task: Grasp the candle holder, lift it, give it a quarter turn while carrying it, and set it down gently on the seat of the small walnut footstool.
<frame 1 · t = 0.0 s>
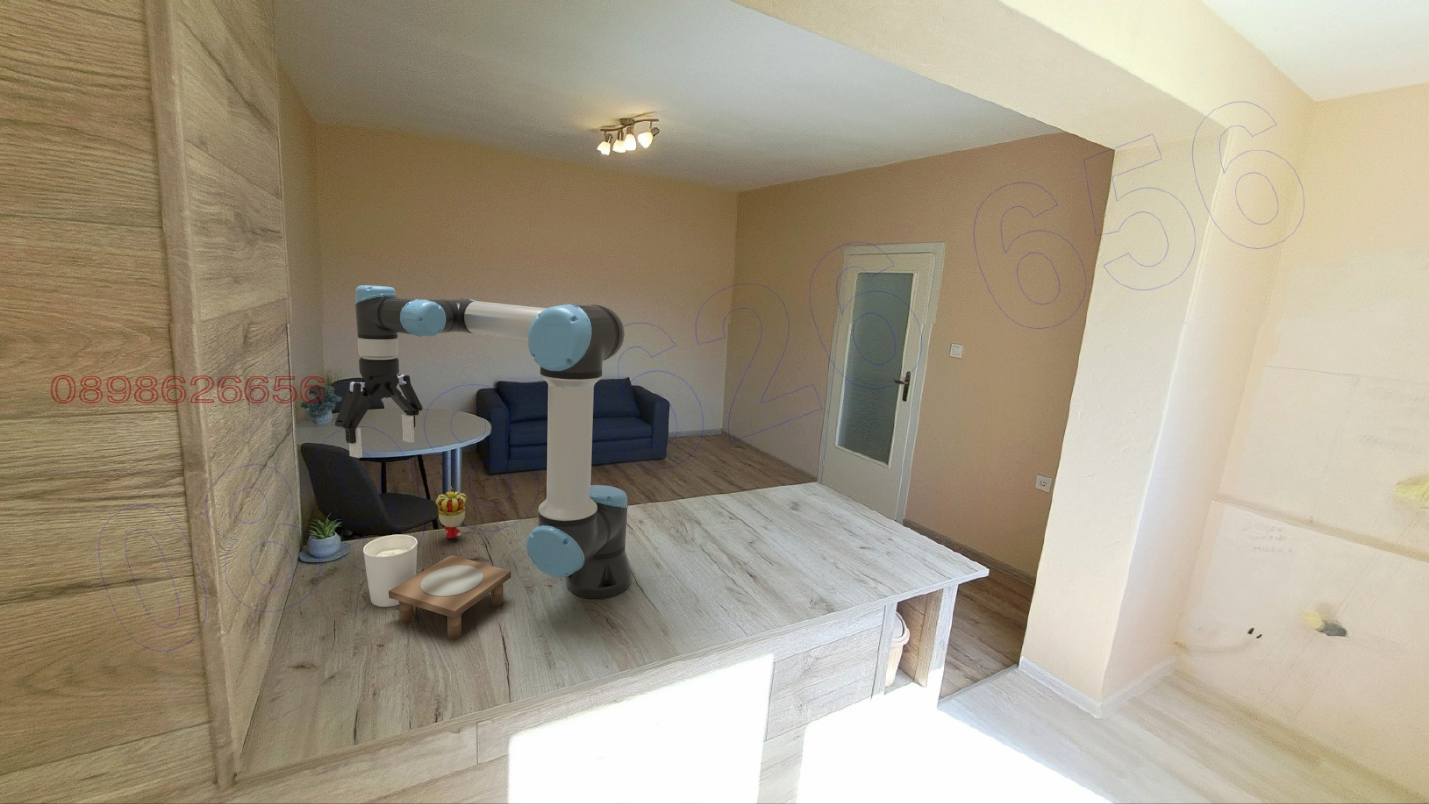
hand: (383, 448, 124), 28 cm above the counter, fingers open, 13 cm apart
toy: (452, 540, 141), on the counter
candle holder: (393, 597, 116), on the counter
footstool: (453, 611, 112), on the counter
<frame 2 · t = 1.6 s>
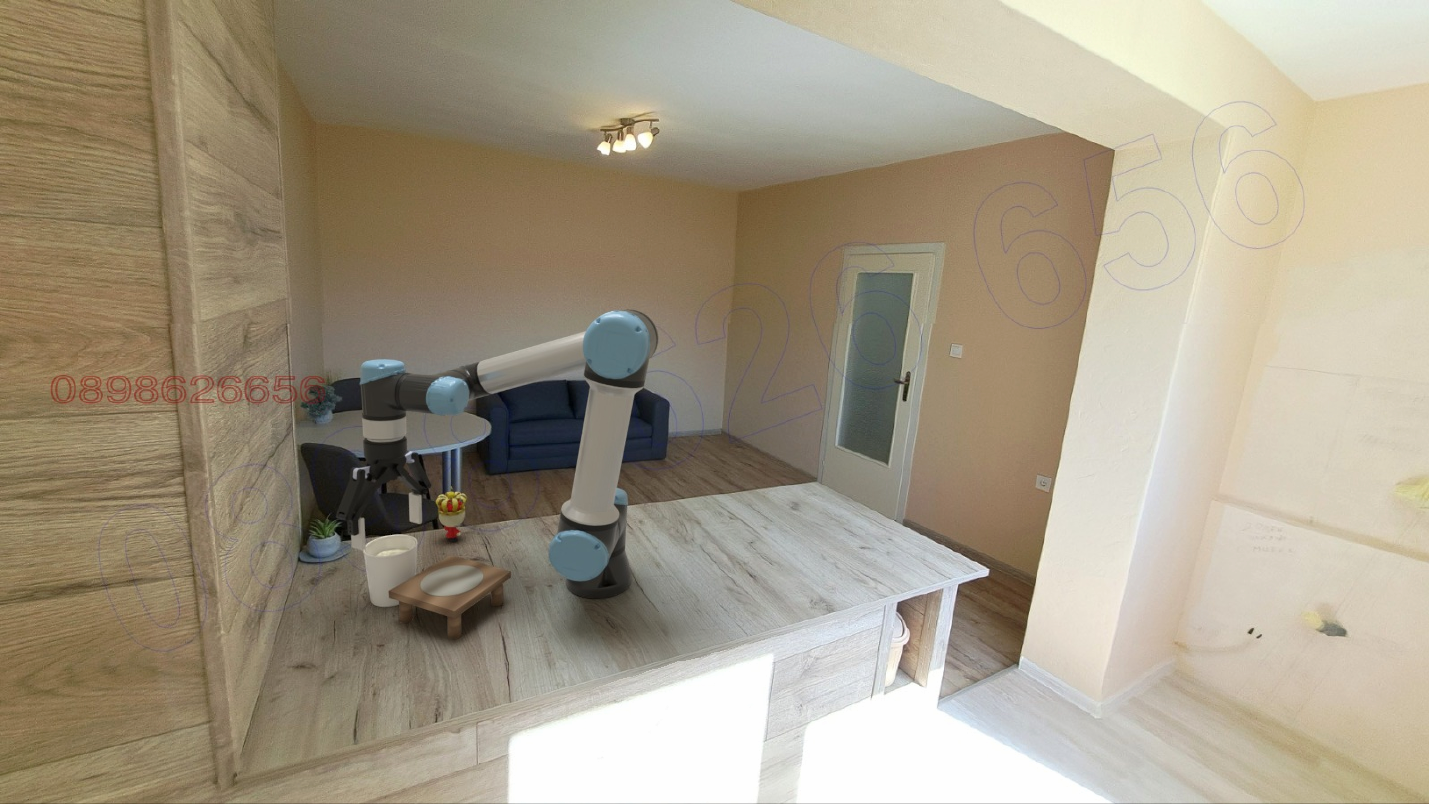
hand: (388, 534, 113), 14 cm above the counter, fingers open, 13 cm apart
nothing on the counter moved.
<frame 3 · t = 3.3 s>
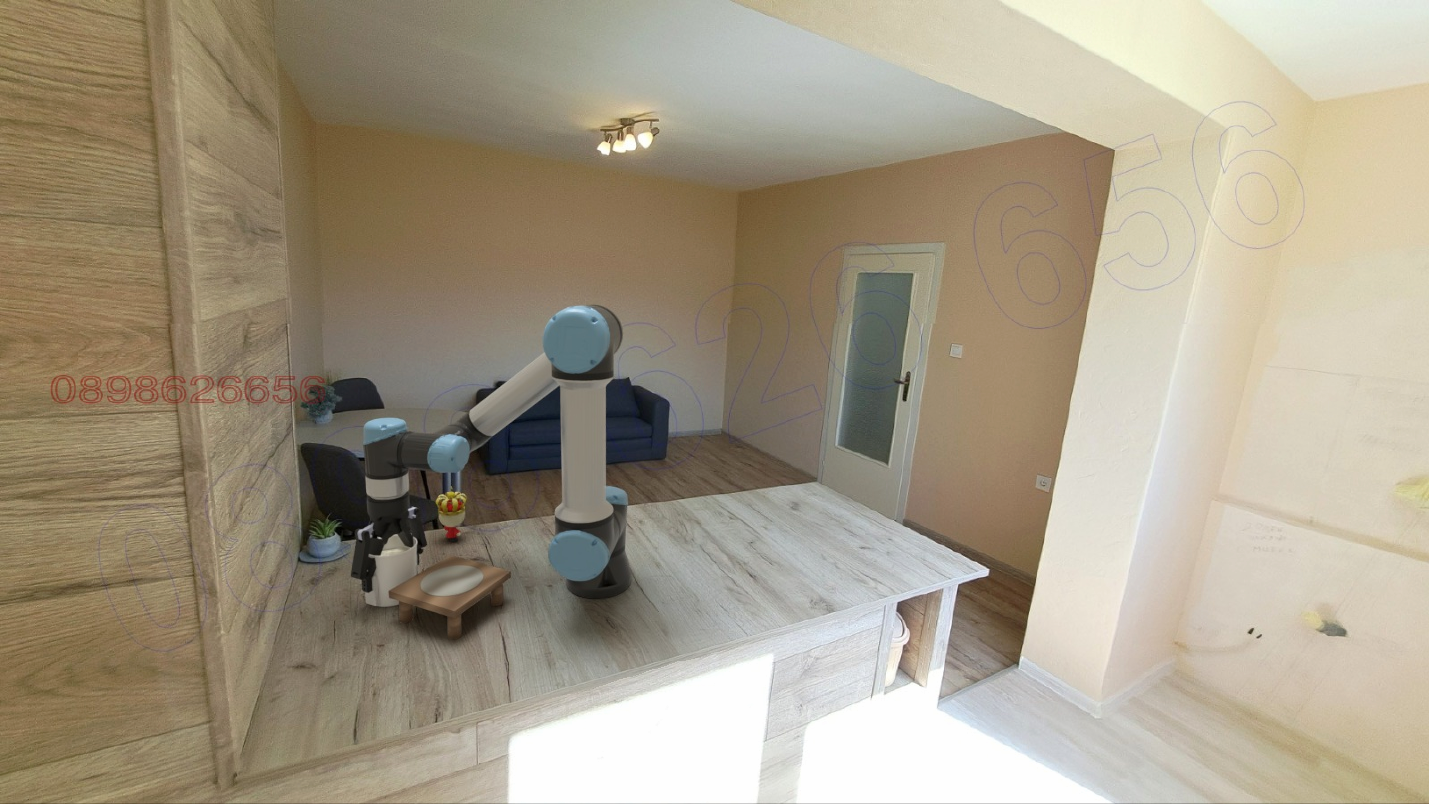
hand: (393, 591, 115), 1 cm above the counter, fingers closed on candle holder, 9 cm apart
candle holder: (393, 596, 116), on the counter, touching gripper
everything else where it was.
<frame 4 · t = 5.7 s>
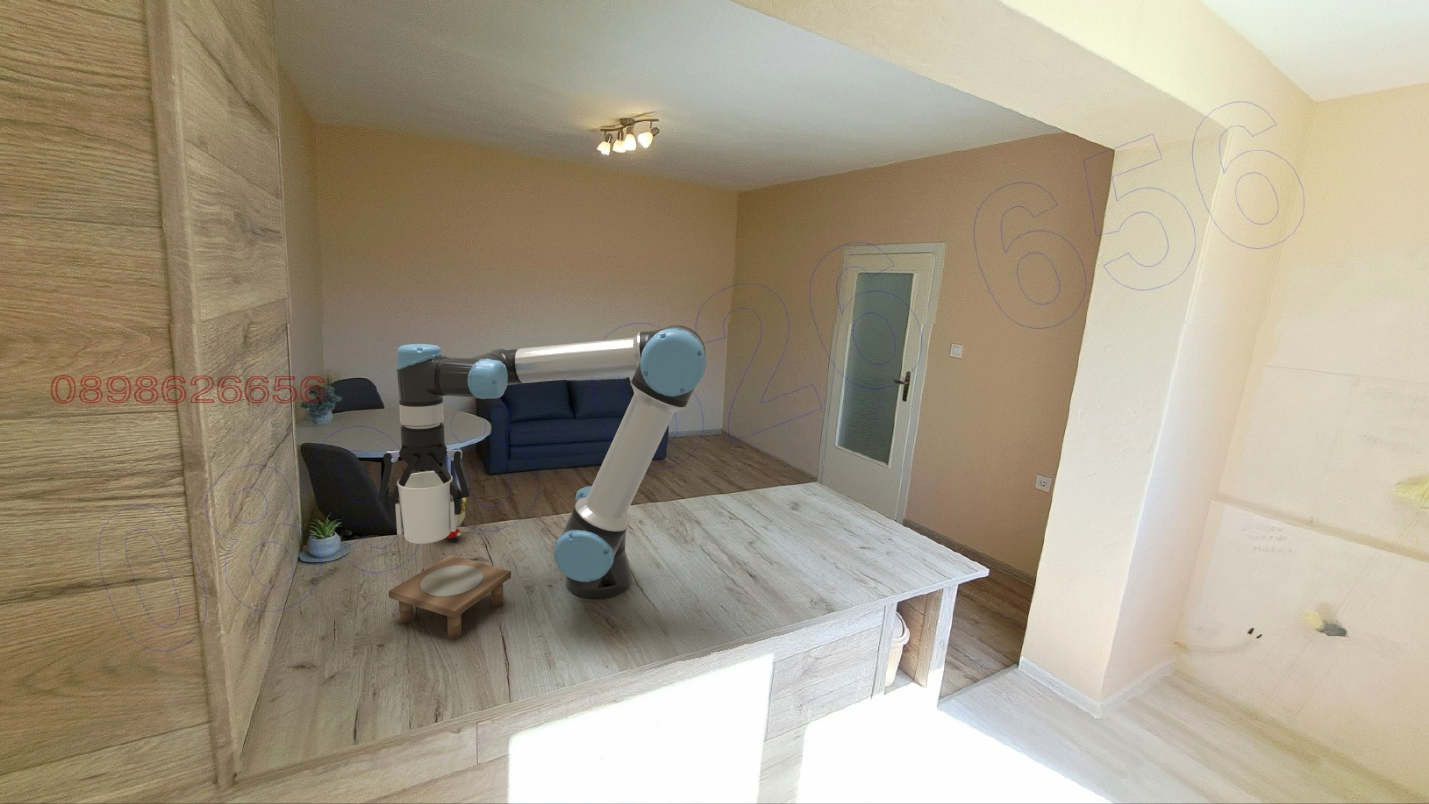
hand: (428, 530, 110), 17 cm above the counter, fingers closed on candle holder, 9 cm apart
candle holder: (428, 535, 110), point 16 cm above the counter, touching gripper
everything else where it was.
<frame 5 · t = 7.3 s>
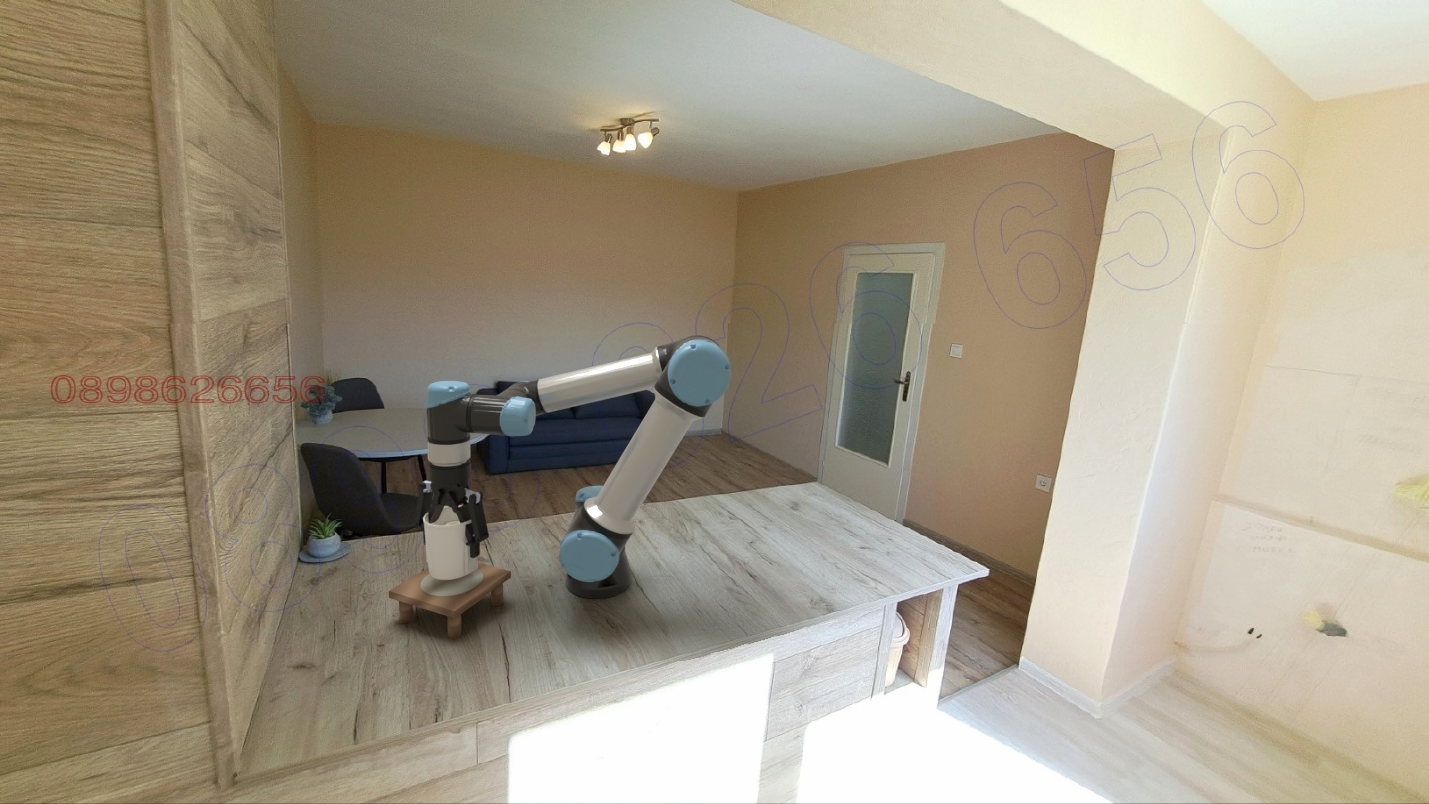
hand: (451, 565, 110), 10 cm above the counter, fingers closed on candle holder, 9 cm apart
candle holder: (451, 570, 110), point 9 cm above the counter, touching gripper
everything else where it was.
when the fingers open (9 cm above the counter, at t = 8.4 s): candle holder drops 1 cm, resting on footstool.
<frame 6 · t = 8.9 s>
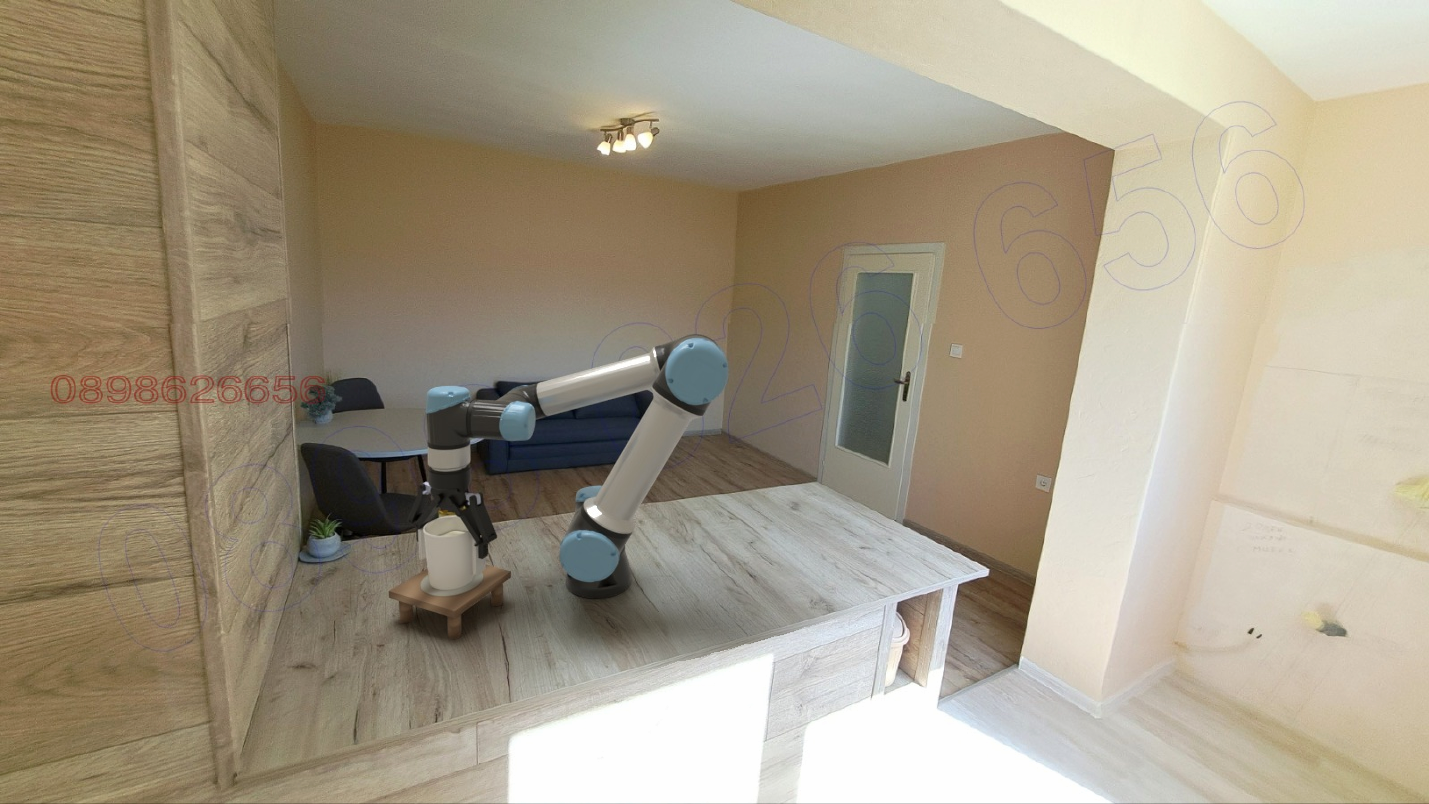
hand: (452, 564, 110), 11 cm above the counter, fingers open, 13 cm apart
candle holder: (452, 580, 111), point 7 cm above the counter, touching footstool
everything else where it was.
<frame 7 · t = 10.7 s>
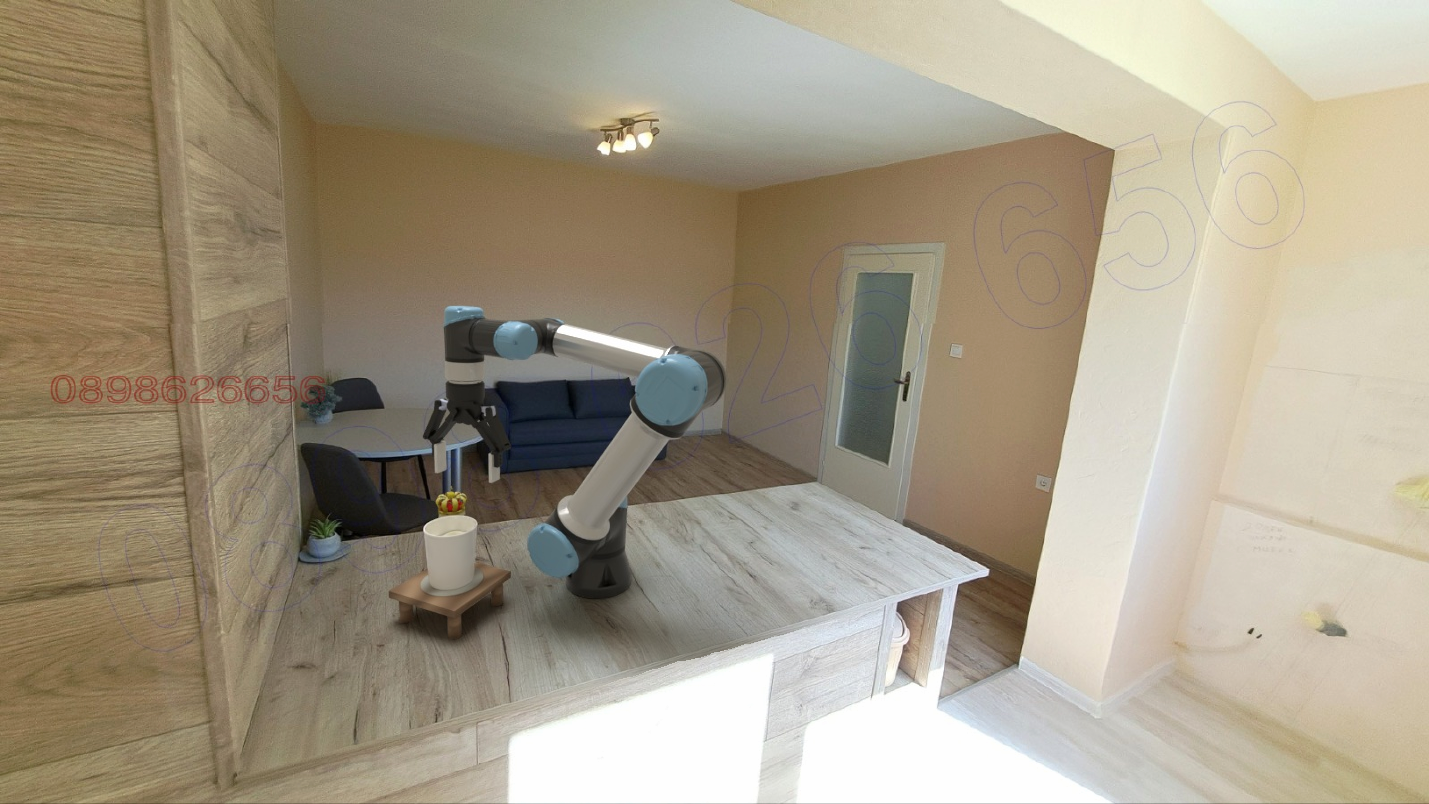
hand: (467, 476, 118), 26 cm above the counter, fingers open, 13 cm apart
nothing on the counter moved.
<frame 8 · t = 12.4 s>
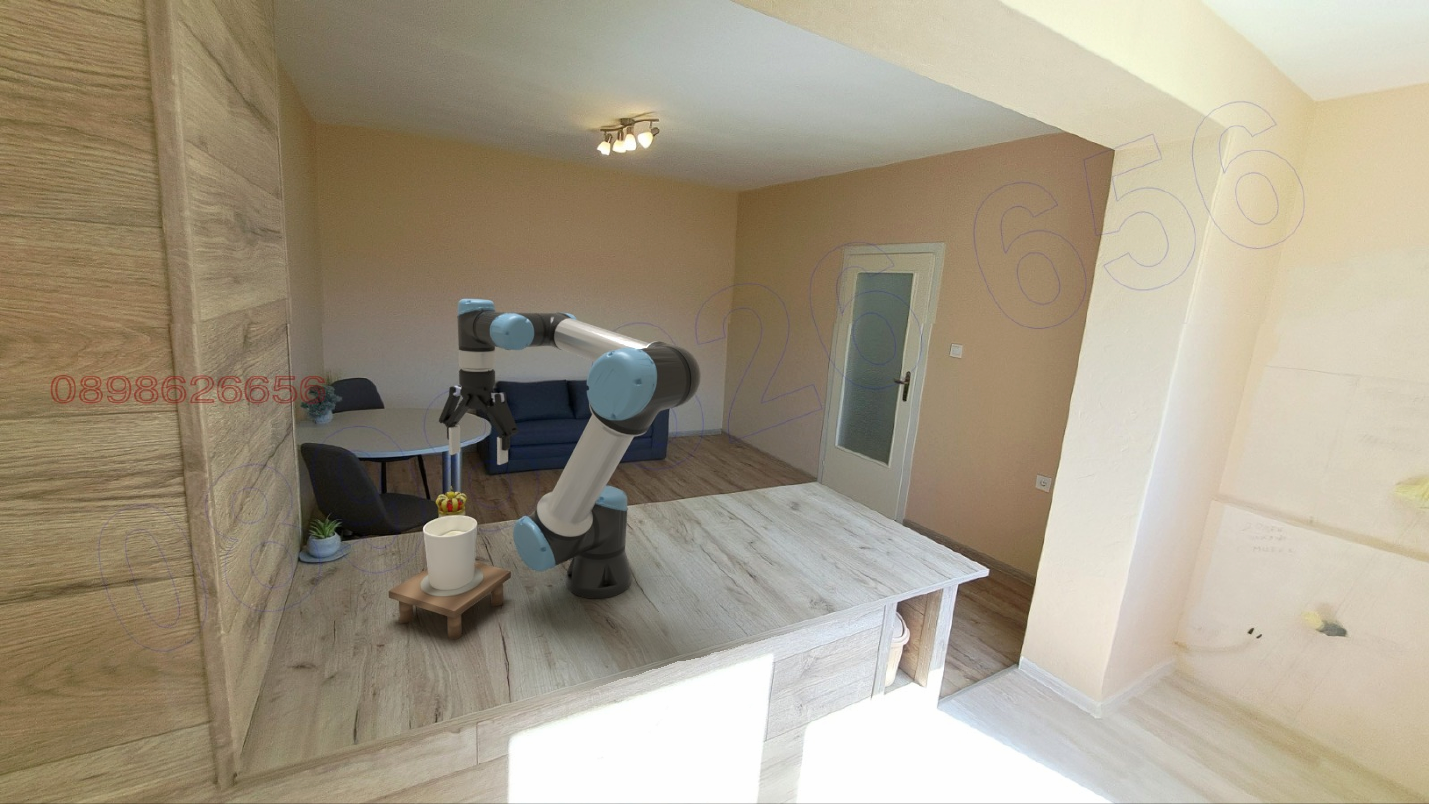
hand: (478, 458, 126), 27 cm above the counter, fingers open, 13 cm apart
nothing on the counter moved.
at the end: candle holder inside the target area on the footstool (0.1 cm from its centre), point 7.0 cm above the footstool's base; candle holder tilted 0°; the gripper is holding nothing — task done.
